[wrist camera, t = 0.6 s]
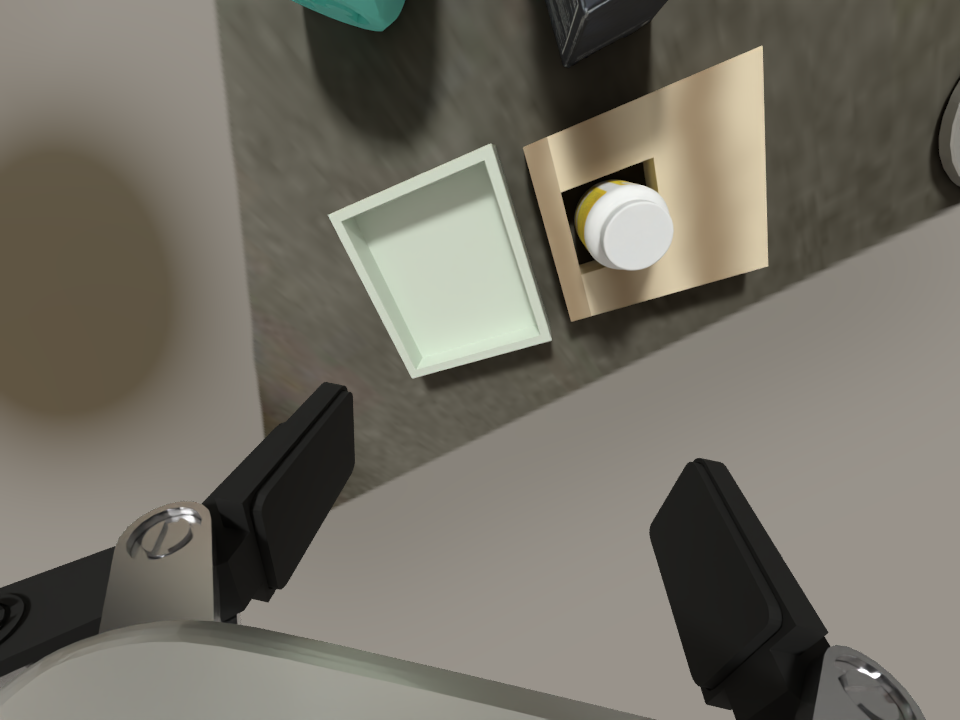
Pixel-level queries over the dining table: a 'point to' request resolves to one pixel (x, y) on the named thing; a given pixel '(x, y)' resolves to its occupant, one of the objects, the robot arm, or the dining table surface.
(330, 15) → the decorative dice
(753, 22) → the dining table surface
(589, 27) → the small box
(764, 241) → the beige flat square frame
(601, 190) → the supplement bottle
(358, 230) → the tray
